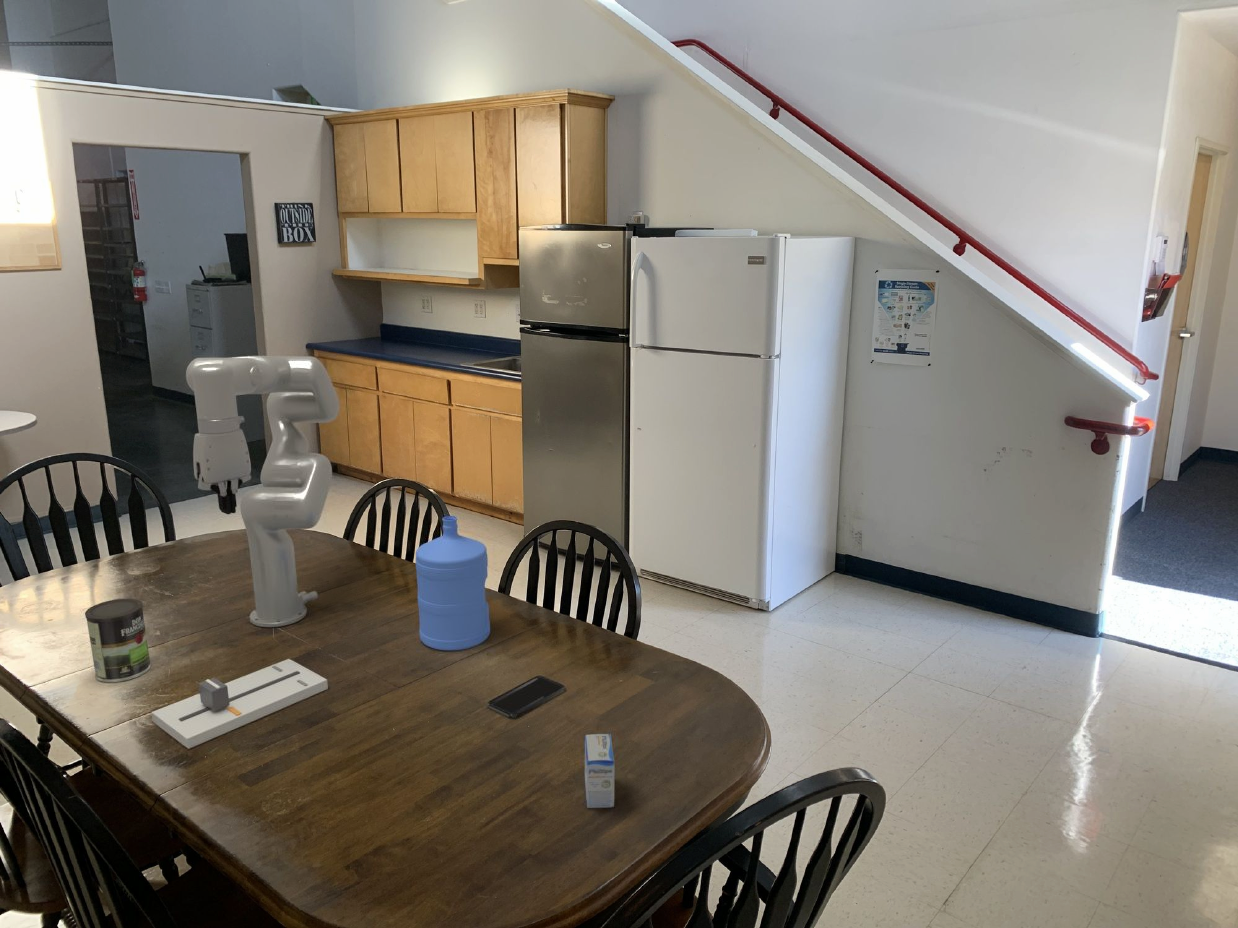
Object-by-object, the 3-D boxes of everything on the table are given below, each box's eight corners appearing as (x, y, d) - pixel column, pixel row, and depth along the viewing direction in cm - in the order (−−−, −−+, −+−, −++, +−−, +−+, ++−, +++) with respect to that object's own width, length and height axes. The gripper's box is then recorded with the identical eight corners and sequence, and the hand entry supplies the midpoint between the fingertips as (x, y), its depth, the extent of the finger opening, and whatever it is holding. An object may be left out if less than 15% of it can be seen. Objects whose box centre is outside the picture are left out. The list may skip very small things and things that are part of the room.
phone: (484, 703, 174) (539, 674, 185) (484, 708, 174) (539, 679, 185) (513, 716, 169) (567, 686, 180) (513, 722, 169) (567, 691, 180)
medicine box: (584, 779, 151) (584, 733, 149) (611, 778, 151) (611, 732, 149) (586, 809, 143) (586, 761, 141) (614, 807, 144) (614, 759, 142)
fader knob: (216, 696, 172) (214, 676, 171) (229, 704, 169) (227, 684, 168) (201, 702, 170) (198, 682, 169) (214, 711, 167) (211, 690, 166)
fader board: (289, 667, 189) (288, 657, 188) (327, 688, 180) (327, 678, 180) (152, 721, 168) (151, 711, 168) (188, 748, 160) (186, 737, 159)
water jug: (458, 658, 193) (452, 534, 186) (405, 641, 201) (397, 521, 194) (504, 631, 206) (500, 514, 199) (452, 616, 214) (447, 503, 207)
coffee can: (162, 661, 191) (153, 600, 188) (127, 685, 182) (117, 620, 178) (119, 657, 193) (110, 595, 190) (83, 680, 184) (72, 616, 180)
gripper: (244, 417, 190) (253, 500, 195) (172, 429, 179) (183, 517, 183) (263, 422, 185) (271, 507, 190) (190, 434, 174) (201, 525, 179)
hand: (228, 512), depth 187 cm, fingers closed
